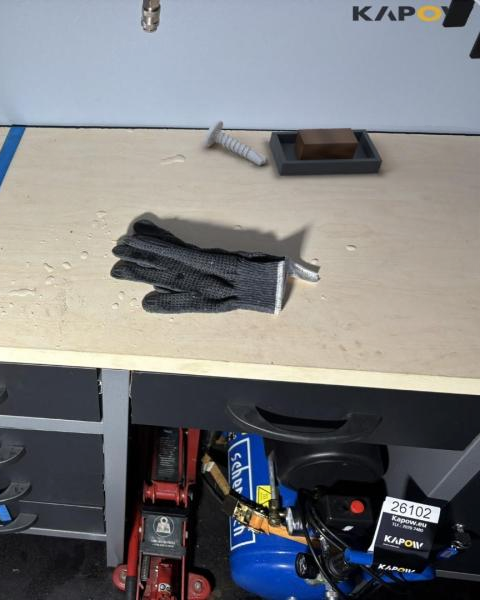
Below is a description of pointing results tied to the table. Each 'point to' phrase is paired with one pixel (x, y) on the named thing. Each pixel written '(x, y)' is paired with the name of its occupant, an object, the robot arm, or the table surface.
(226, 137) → the screw
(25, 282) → the table surface
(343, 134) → the block
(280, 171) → the tray
